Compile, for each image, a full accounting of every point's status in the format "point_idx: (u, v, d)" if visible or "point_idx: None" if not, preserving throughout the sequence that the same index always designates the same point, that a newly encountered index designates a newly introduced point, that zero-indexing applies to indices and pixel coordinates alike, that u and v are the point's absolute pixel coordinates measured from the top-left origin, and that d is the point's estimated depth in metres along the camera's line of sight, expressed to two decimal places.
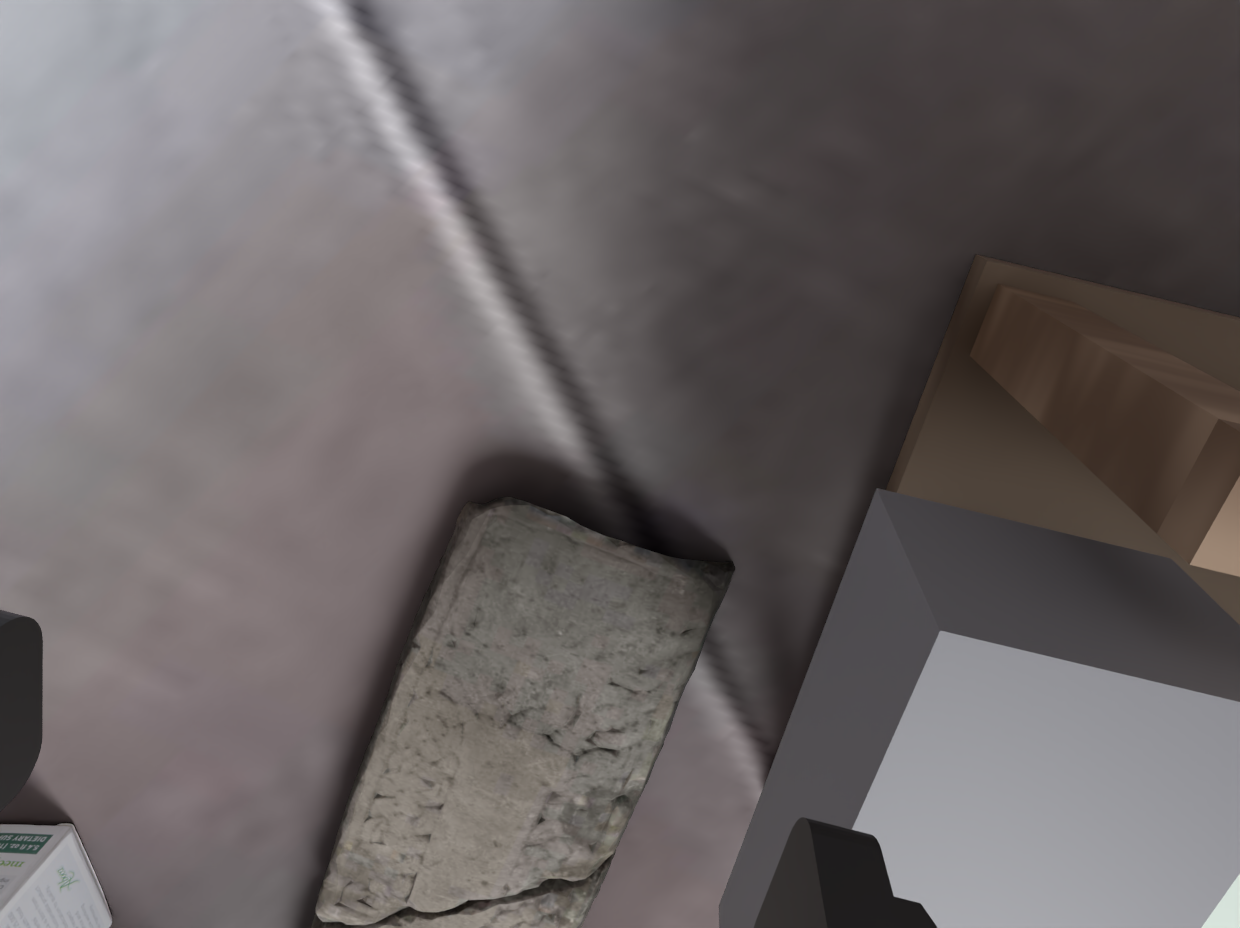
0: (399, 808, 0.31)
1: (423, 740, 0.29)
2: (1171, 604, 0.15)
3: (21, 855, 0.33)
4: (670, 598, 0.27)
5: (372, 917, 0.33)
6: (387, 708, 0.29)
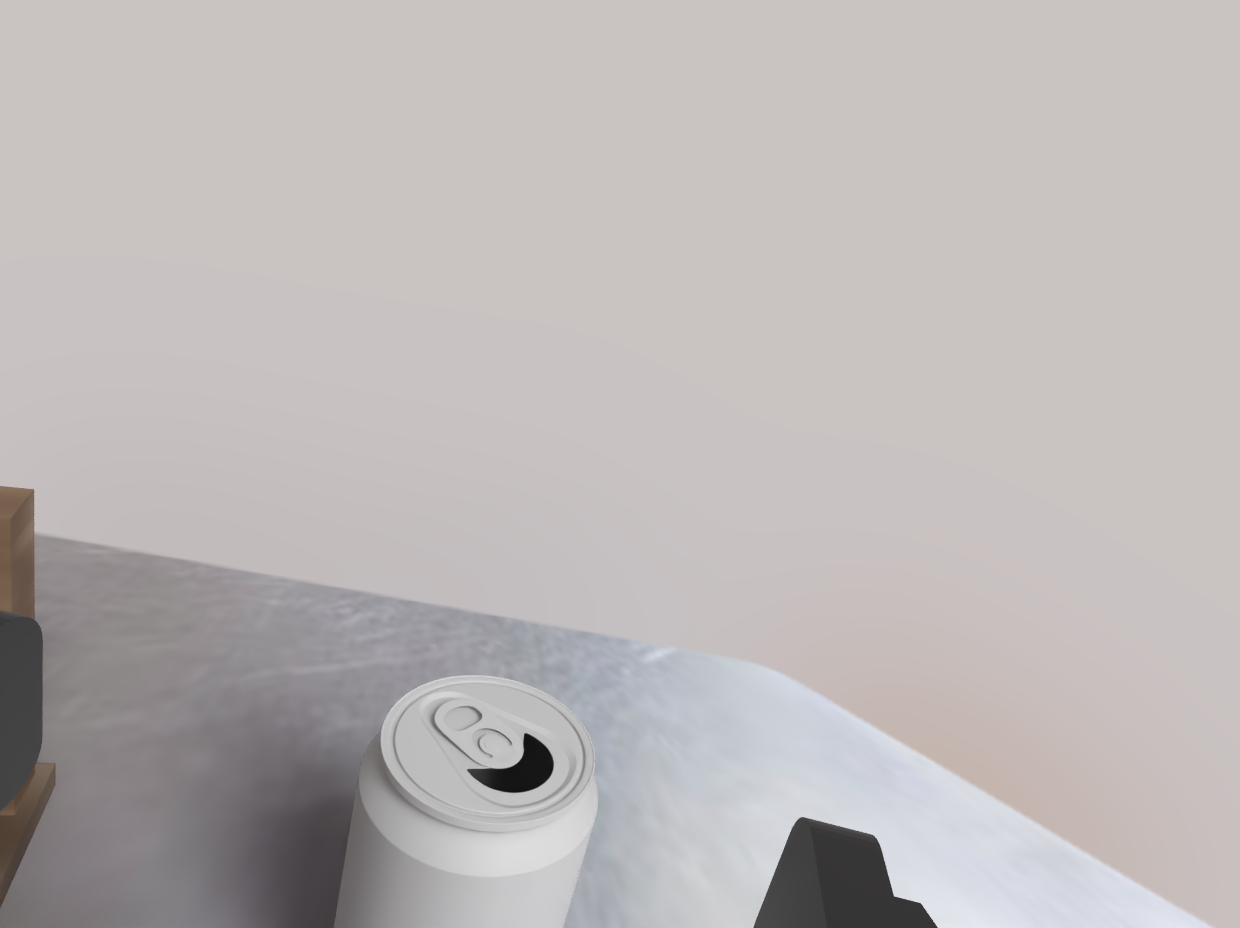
0: None
1: None
2: None
3: None
4: None
5: None
6: None
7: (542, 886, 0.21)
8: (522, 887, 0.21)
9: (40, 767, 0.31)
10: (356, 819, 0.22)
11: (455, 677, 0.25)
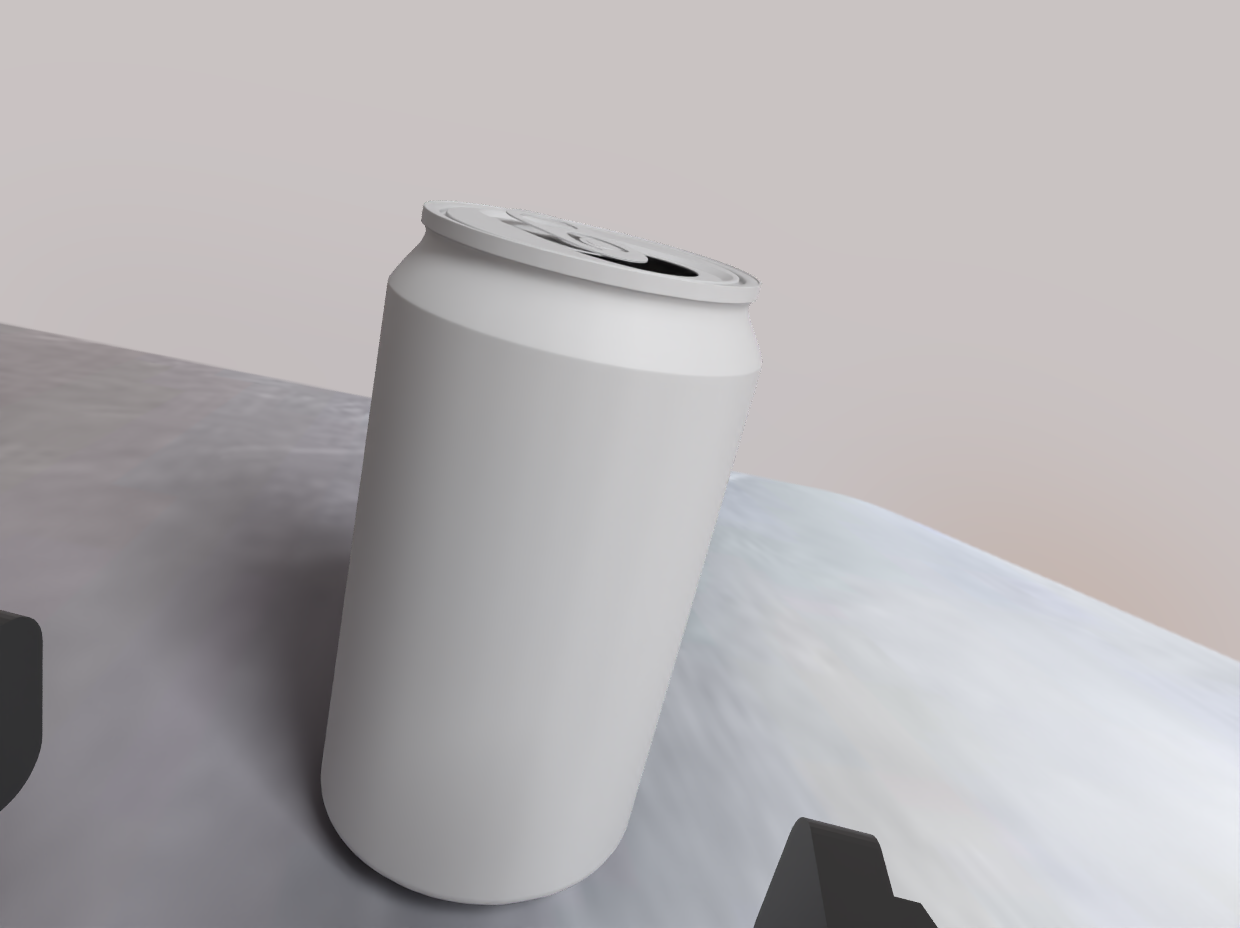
0: None
1: None
2: None
3: None
4: None
5: None
6: None
7: (696, 420, 0.13)
8: (667, 405, 0.12)
9: None
10: (385, 338, 0.13)
11: None
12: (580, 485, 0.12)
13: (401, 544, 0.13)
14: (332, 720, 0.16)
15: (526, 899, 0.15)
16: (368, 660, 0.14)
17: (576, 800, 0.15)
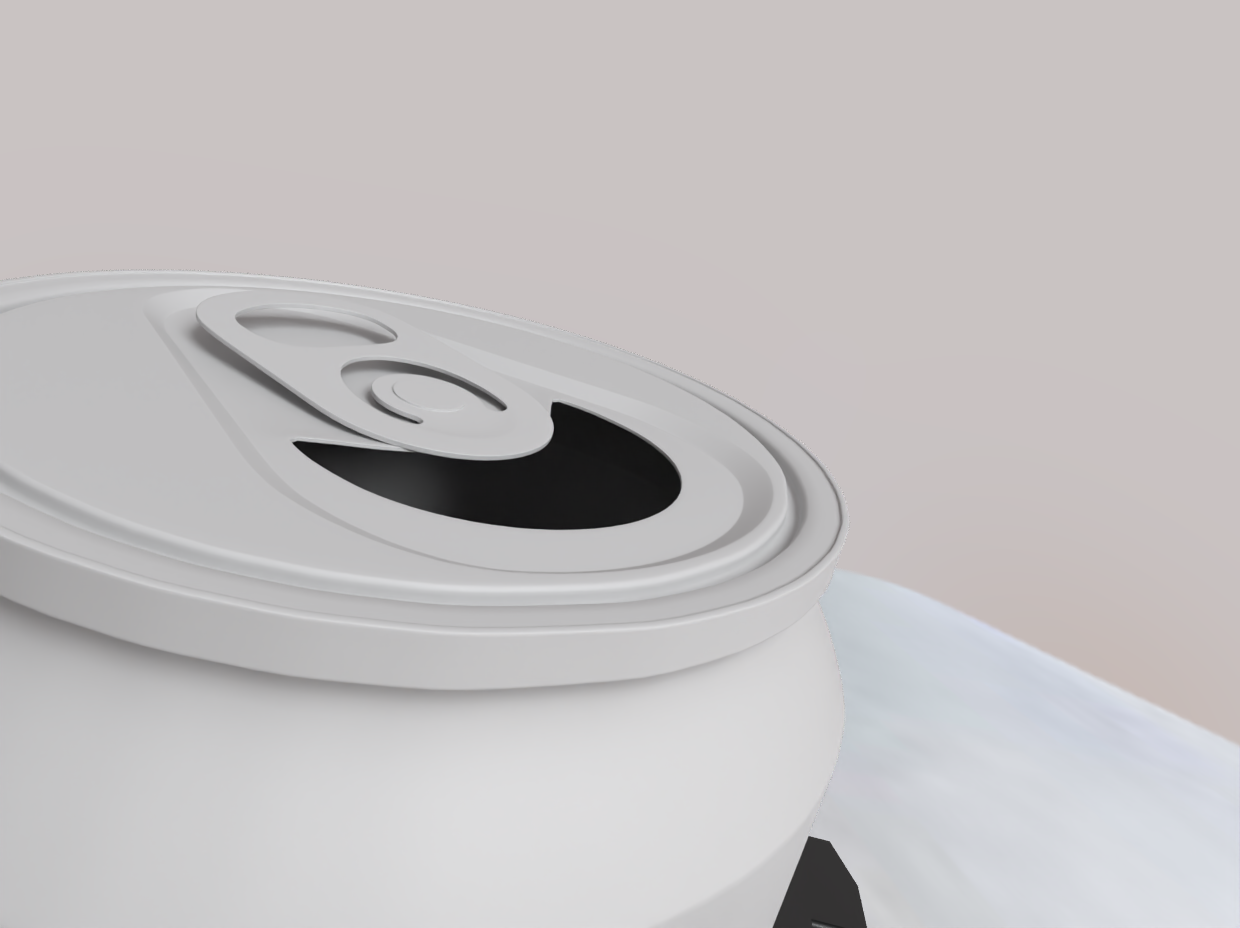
0: None
1: None
2: None
3: None
4: None
5: None
6: None
7: None
8: None
9: None
10: None
11: (325, 283, 0.08)
12: None
13: None
14: None
15: None
16: None
17: None
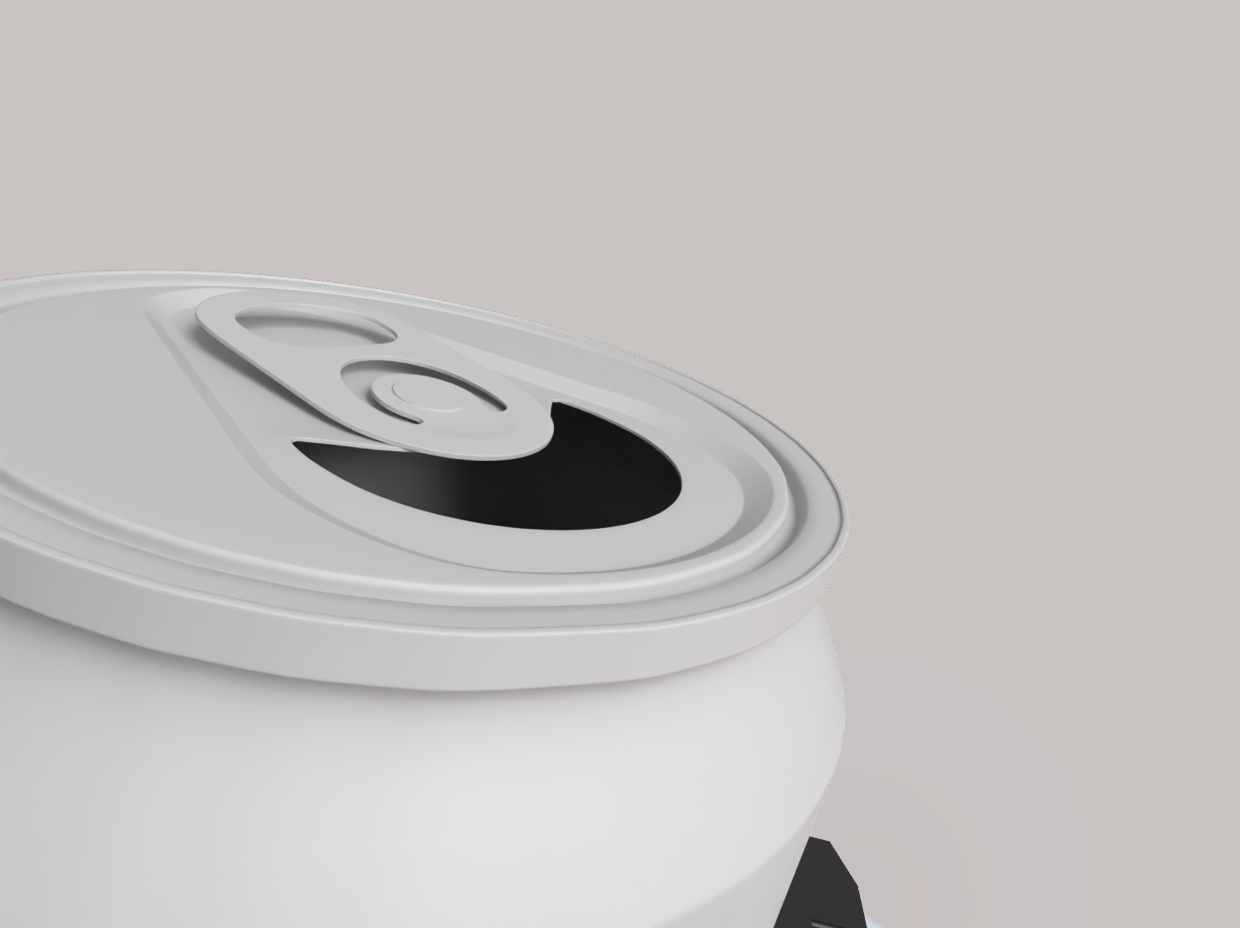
0: None
1: None
2: None
3: None
4: None
5: None
6: None
7: None
8: None
9: None
10: None
11: (325, 284, 0.08)
12: None
13: None
14: None
15: None
16: None
17: None
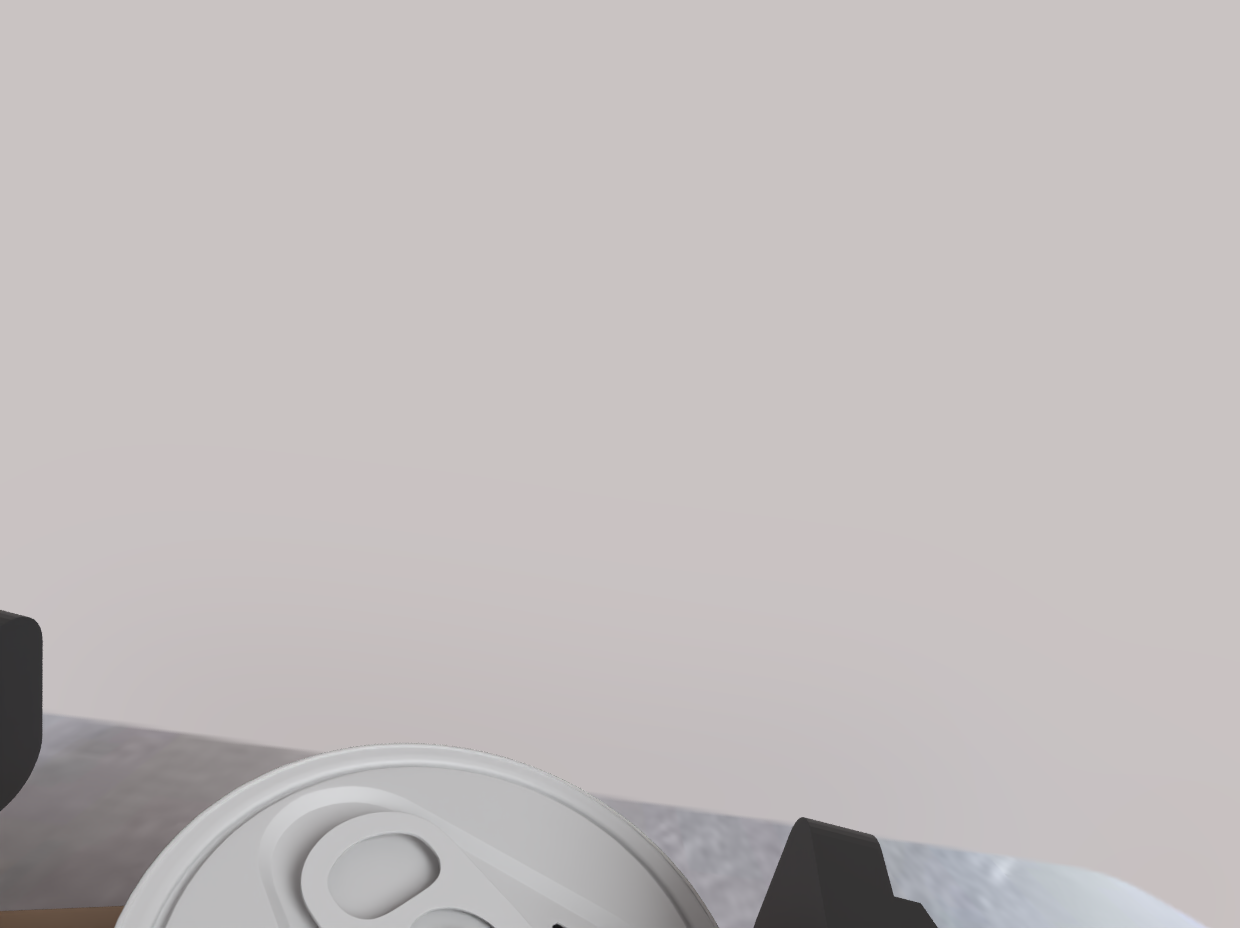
0: None
1: None
2: None
3: None
4: None
5: None
6: None
7: None
8: None
9: None
10: None
11: (380, 748, 0.10)
12: None
13: None
14: None
15: None
16: None
17: None
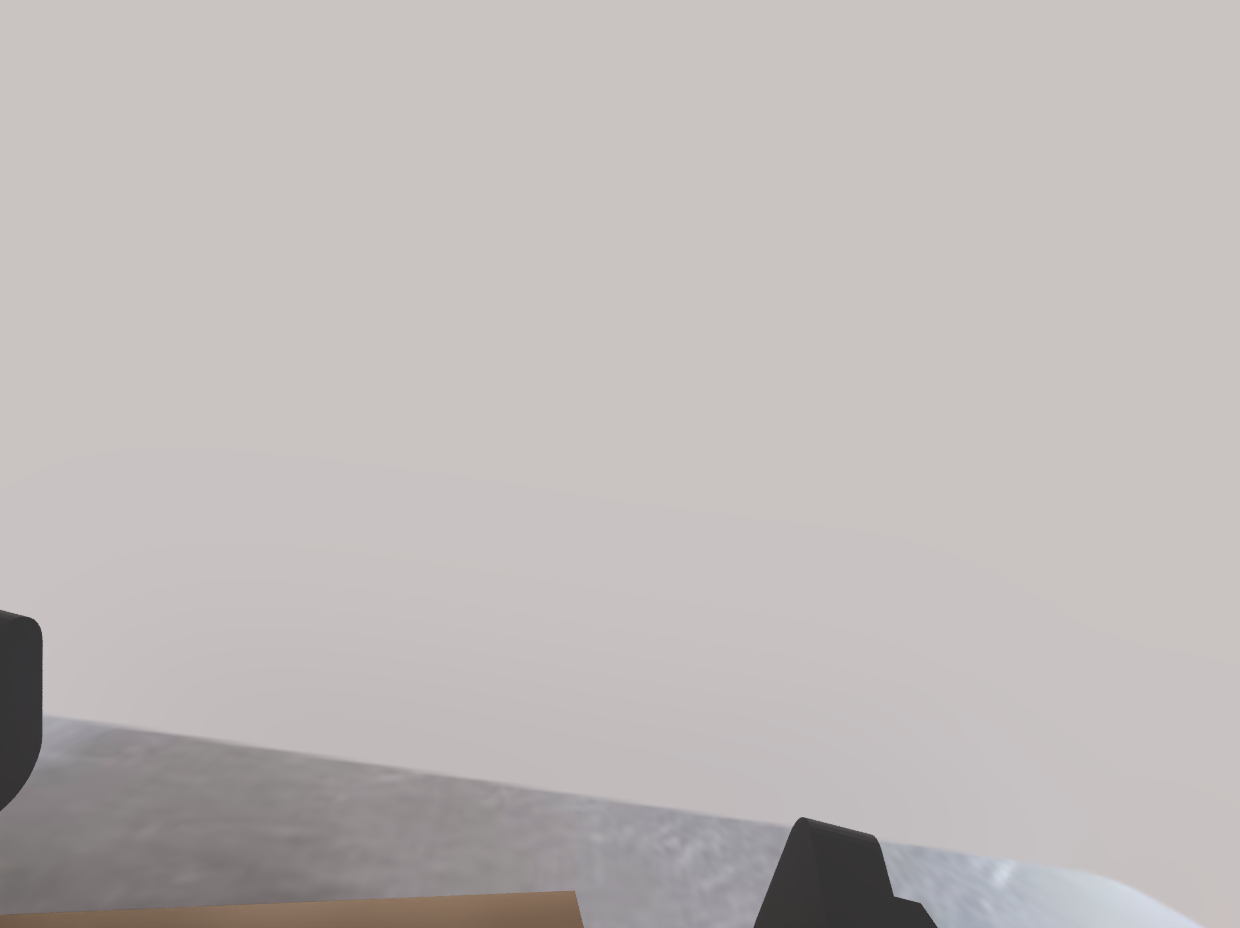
0: None
1: None
2: None
3: None
4: None
5: None
6: None
7: None
8: None
9: None
10: None
11: None
12: None
13: None
14: None
15: None
16: None
17: None
